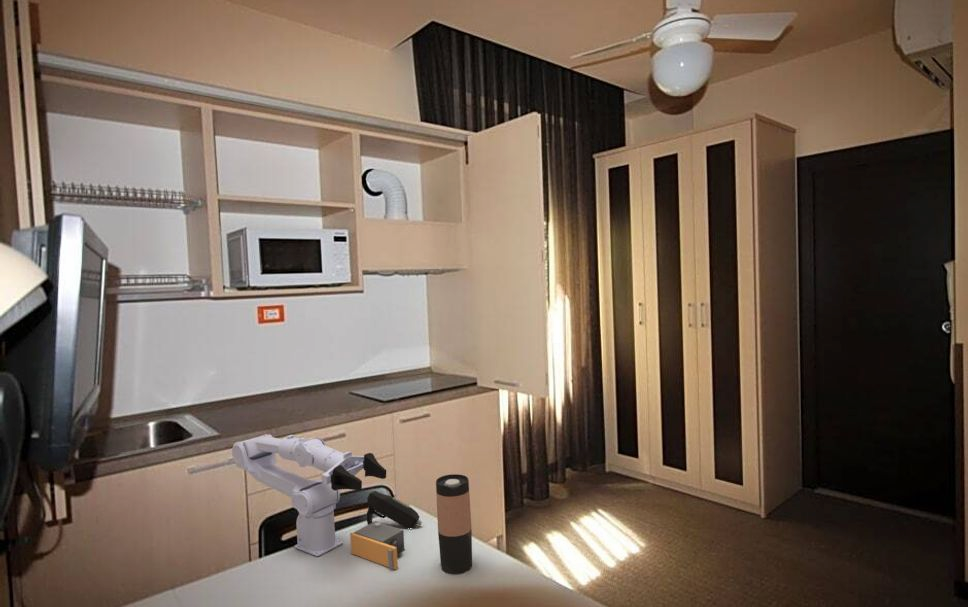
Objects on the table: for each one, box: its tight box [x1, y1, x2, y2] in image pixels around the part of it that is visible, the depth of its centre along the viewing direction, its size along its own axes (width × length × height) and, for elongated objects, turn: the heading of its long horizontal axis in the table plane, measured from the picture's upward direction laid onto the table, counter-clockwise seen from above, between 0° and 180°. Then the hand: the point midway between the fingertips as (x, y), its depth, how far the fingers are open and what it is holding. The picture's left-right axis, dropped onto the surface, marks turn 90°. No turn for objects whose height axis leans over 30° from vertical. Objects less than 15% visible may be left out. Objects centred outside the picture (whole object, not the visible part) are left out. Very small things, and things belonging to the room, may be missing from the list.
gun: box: [366, 490, 423, 530], centre depth 146 cm, size 3×16×10 cm, turn 78°
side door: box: [349, 532, 399, 570], centre depth 127 cm, size 15×1×5 cm, turn 54°
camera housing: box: [353, 521, 405, 556], centre depth 132 cm, size 12×7×6 cm, turn 54°
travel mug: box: [435, 473, 473, 575], centre depth 123 cm, size 8×8×20 cm
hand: (373, 479), depth 124 cm, fingers open, 7 cm apart
